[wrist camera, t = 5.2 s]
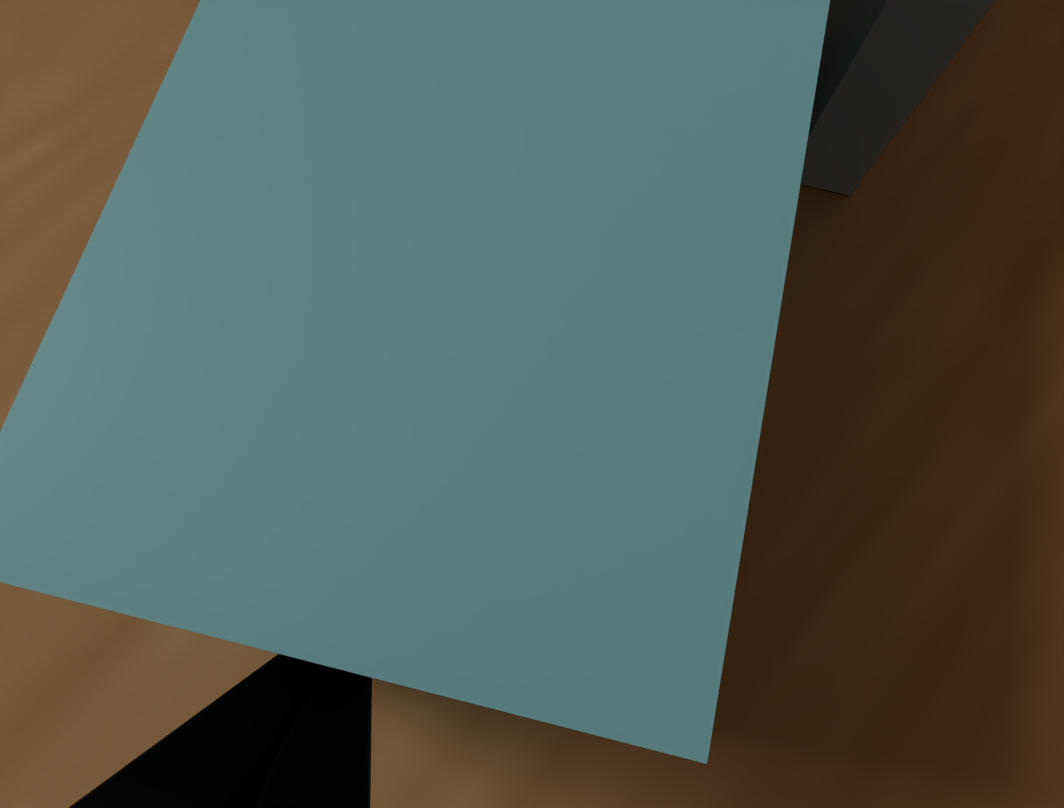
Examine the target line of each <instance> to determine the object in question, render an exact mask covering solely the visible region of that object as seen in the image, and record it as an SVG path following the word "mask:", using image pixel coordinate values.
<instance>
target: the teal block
mask: <svg viewBox="0 0 1064 808" xmlns="http://www.w3.org/2000/svg"><path fill="white" fill-rule="evenodd" d="M829 4H830V0H200V3H199V5H198V7H197V9H196V11H195V13H194V15H193V18H192V20H191V22H190V24H189V26H188V28H187V31H186V33H185V35H184V37H183V39H182V41H181V43H180V46H179V48H178V50H177V52H176V54H175V56H174V59H173V61H172V63H171V65H170V67H169V69H168V71H167V74H166V76H165V78H164V80H163V82H162V84H161V87H160V89H159V91H158V93H157V95H156V97H155V99H154V102H153V104H152V106H151V108H150V110H149V112H148V115H147V117H146V119H145V121H144V123H143V125H142V127H141V130H140V132H139V134H138V136H137V138H136V140H135V143H134V145H133V147H132V149H131V151H130V153H129V155H128V158H127V160H126V162H125V164H124V166H123V168H122V171H121V173H120V175H119V177H118V179H117V181H116V183H115V186H114V188H113V190H112V192H111V194H110V196H109V199H108V201H107V203H106V205H105V207H104V209H103V211H102V214H101V216H100V218H99V220H98V222H97V224H96V227H95V229H94V231H93V233H92V235H91V237H90V239H89V242H88V244H87V246H86V248H85V250H84V252H83V255H82V257H81V259H80V261H79V263H78V265H77V267H76V270H75V272H74V274H73V276H72V278H71V280H70V283H69V285H68V287H67V289H66V291H65V293H64V295H63V298H62V300H61V302H60V304H59V306H58V308H57V311H56V313H55V315H54V317H53V319H52V321H51V323H50V326H49V328H48V330H47V332H46V334H45V336H44V338H43V341H42V343H41V345H40V347H39V349H38V351H37V354H36V356H35V358H34V360H33V362H32V364H31V366H30V369H29V371H28V373H27V375H26V377H25V379H24V382H23V384H22V386H21V388H20V390H19V392H18V394H17V397H16V399H15V401H14V403H13V405H12V407H11V410H10V412H9V414H8V416H7V418H6V420H5V422H4V425H3V427H2V429H1V431H0V582H2V583H6V584H10V585H14V586H18V587H22V588H25V589H29V590H33V591H37V592H41V593H45V594H49V595H53V596H56V597H60V598H64V599H68V600H72V601H76V602H80V603H84V604H88V605H91V606H95V607H99V608H103V609H107V610H111V611H115V612H119V613H123V614H126V615H130V616H134V617H138V618H142V619H146V620H150V621H154V622H158V623H161V624H165V625H169V626H173V627H177V628H181V629H185V630H189V631H192V632H196V633H200V634H204V635H208V636H212V637H216V638H220V639H224V640H227V641H231V642H235V643H239V644H243V645H247V646H251V647H255V648H259V649H262V650H266V651H270V652H274V653H278V654H282V655H286V656H290V657H294V658H297V659H301V660H305V661H309V662H313V663H317V664H321V665H325V666H328V667H332V668H336V669H340V670H344V671H348V672H352V673H356V674H360V675H363V676H367V677H371V678H375V679H379V680H383V681H387V682H391V683H395V684H398V685H402V686H406V687H410V688H414V689H418V690H422V691H426V692H430V693H433V694H437V695H441V696H445V697H449V698H453V699H457V700H461V701H464V702H468V703H472V704H476V705H480V706H484V707H488V708H492V709H496V710H499V711H503V712H507V713H511V714H515V715H519V716H523V717H527V718H531V719H534V720H538V721H542V722H546V723H550V724H554V725H558V726H562V727H566V728H569V729H573V730H577V731H581V732H585V733H589V734H593V735H597V736H600V737H604V738H608V739H612V740H616V741H620V742H624V743H628V744H632V745H635V746H639V747H643V748H647V749H651V750H655V751H659V752H663V753H667V754H670V755H674V756H678V757H682V758H686V759H690V760H694V761H698V762H702V763H705V764H707V761H708V755H709V749H710V743H711V737H712V730H713V724H714V718H715V712H716V706H717V699H718V693H719V687H720V681H721V674H722V668H723V662H724V656H725V650H726V643H727V637H728V631H729V625H730V619H731V612H732V606H733V600H734V594H735V587H736V581H737V575H738V569H739V563H740V556H741V550H742V544H743V538H744V532H745V525H746V519H747V513H748V507H749V501H750V494H751V488H752V482H753V476H754V469H755V463H756V457H757V451H758V445H759V438H760V432H761V426H762V420H763V414H764V407H765V401H766V395H767V389H768V382H769V376H770V370H771V364H772V358H773V351H774V345H775V339H776V333H777V327H778V320H779V314H780V308H781V302H782V296H783V289H784V283H785V277H786V271H787V264H788V258H789V252H790V246H791V240H792V233H793V227H794V221H795V215H796V209H797V202H798V196H799V190H800V184H801V177H802V171H803V165H804V159H805V153H806V146H807V140H808V134H809V128H810V122H811V115H812V109H813V103H814V97H815V91H816V84H817V78H818V72H819V66H820V59H821V53H822V47H823V41H824V35H825V28H826V22H827V16H828V10H829Z"/></svg>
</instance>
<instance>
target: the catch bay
mask: <svg viewBox="0 0 1064 808" xmlns="http://www.w3.org/2000/svg"><path fill="white" fill-rule="evenodd" d="M994 1H995V0H830V4H829V10H828V16H827V22H826V28H825V35H824V41H823V47H822V53H821V59H820V66H819V72H818V78H817V84H816V91H815V97H814V103H813V109H812V115H811V122H810V128H809V134H808V140H807V146H806V153H805V159H804V165H803V171H802V177H801V184H802V185H806V186H810V187H815V188H819V189H823V190H828V191H832V192H836V193H841V194H845V195H849V196H850V195H851V194H852V192H853V191H854V190H855V188H856V187H857V186H858V184H859V183H860V182H861V180H862V179H863V178H864V176H865V175H866V174H867V172H868V171H869V170H870V168H871V167H872V166H873V164H874V163H875V161H876V160H877V159H878V157H879V156H880V155H881V153H882V152H883V151H884V149H885V148H886V147H887V145H888V144H889V143H890V141H891V140H892V139H893V137H894V136H895V135H896V133H897V132H898V131H899V129H900V128H901V127H902V125H903V124H904V122H905V121H906V120H907V118H908V117H909V116H910V114H911V113H912V112H913V110H914V109H915V108H916V106H917V105H918V104H919V102H920V101H921V100H922V98H923V97H924V96H925V94H926V93H927V92H928V90H929V89H930V88H931V86H932V85H933V84H934V82H935V81H936V79H937V78H938V77H939V75H940V74H941V73H942V71H943V70H944V69H945V67H946V66H947V65H948V63H949V62H950V61H951V59H952V58H953V57H954V55H955V54H956V53H957V51H958V50H959V49H960V47H961V46H962V45H963V43H964V42H965V40H966V39H967V38H968V36H969V35H970V34H971V32H972V31H973V30H974V28H975V27H976V26H977V24H978V23H979V22H980V20H981V19H982V18H983V16H984V15H985V14H986V12H987V11H988V10H989V8H990V7H991V6H992V4H993V3H994Z"/></svg>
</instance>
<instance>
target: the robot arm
mask: <svg viewBox="0 0 1064 808" xmlns="http://www.w3.org/2000/svg"><path fill="white" fill-rule="evenodd" d="M371 714H372V678H371V677H367V676H363V675H360V674H356V673H352V672H348V671H344V670H340V669H336V668H332V667H328V666H325V665H321V664H317V663H313V662H309V661H305V660H301V659H297V658H294V657H290V656H286V655H282V654H278V655H277V656H275V657H274V658H272V659H271V660H270V661H268V662H267V663H266V664H264V665H263V666H261V667H260V668H259V669H257V670H256V671H255V672H253V673H252V674H251V675H249V676H248V677H246V678H245V679H244V680H242V681H241V682H240V683H238V684H237V685H236V686H234V687H233V688H231V689H230V690H229V691H227V692H226V693H225V694H223V695H222V696H220V697H219V698H218V699H216V700H215V701H214V702H212V703H211V704H210V705H208V706H207V707H205V708H204V709H203V710H201V711H200V712H199V713H197V714H196V715H194V716H193V717H192V718H190V719H189V720H188V721H186V722H185V723H184V724H182V725H181V726H179V727H178V728H177V729H175V730H174V731H173V732H171V733H170V734H169V735H167V736H166V737H164V738H163V739H162V740H160V741H159V742H158V743H156V744H155V745H153V746H152V747H151V748H149V749H148V750H147V751H145V752H144V753H143V754H141V755H140V756H138V757H137V758H136V759H134V760H133V761H132V762H130V763H129V764H127V765H126V766H125V767H123V768H122V769H121V770H119V771H118V772H117V773H115V774H114V775H112V776H111V777H110V778H108V779H107V780H106V781H104V782H103V783H101V784H100V785H99V786H97V787H96V788H95V789H93V790H92V791H91V792H89V793H88V794H86V795H85V796H84V797H82V798H81V799H80V800H78V801H77V802H76V803H74V804H73V805H71V806H70V807H69V808H370V786H371Z"/></svg>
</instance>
